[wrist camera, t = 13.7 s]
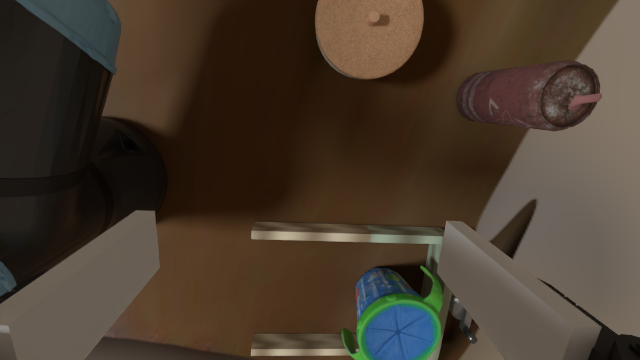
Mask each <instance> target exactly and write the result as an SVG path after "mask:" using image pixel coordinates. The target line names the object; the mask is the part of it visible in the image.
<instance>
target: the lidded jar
mask: <svg viewBox="0 0 640 360" xmlns="http://www.w3.org/2000/svg"><path fill="white" fill-rule="evenodd" d="M423 23H424V9H423V3H422V0H318V3H317V8H316V13H315V30H316V38H317V42H318V46H319V48H320V50H321V53H322V55H323V56H324V58H325V60H326V61H327V62H328V63H329V64H330V66H332V67H333V68H334V69H335V70H336V71H338V72H339V73H341V74H343V75H345V76H348V77H351V78H355V79H376V78H380V77H384V76H386V75H388V74H391V73H393V72H394V71H396V70H397V69H399V68H400V67H401V66H402V65H403V64H404V63H406V62H407V60H408V59H409V58H410V57H411V55H412V54H413V52H414V51H415V49H416V47H417V45H418V43H419V40H420V38H421V34H422V30H423Z"/></svg>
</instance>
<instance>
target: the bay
mask: <svg viewBox="0 0 640 360" xmlns="http://www.w3.org/2000/svg"><path fill="white" fill-rule="evenodd" d="M443 237H444V230H443V229H442V228H440V227H413V226H382V225H350V224H319V223H288V222H257V221H255V222H254V225H253V228H252V231H251V239H270V240H307V241H344V242H381V243H418V244H429V249H428V255H427V260H426V266H425V268H426V269H427V270H428V271H429V272H430V273H431V274H432V275H433V276H434V277H435V278H436V279H437V280H438V282H439V283H440V285H441V288H442V293H443V301H442V303H443V305H442V307H441V310H440V312H439V320H440V323H441V337H440V340H439V343H438V345H437V347H436V349H435V350H434V352H433V353H432V354H431V355H430V356H429V357H428V358H427V359H426V360H438V356H439V352H440V347H441V342H442V338H443V333H444V328H445V323H446V319H447V314H448V309H449V305H450V300H451V295H452V292H451V290H450V289H449V288H448V287H447V285H446V284H445V283H444V281H443V280H442V279H441V278H440V276H439V275H438V274H437V268H438V262H439V257H440V252H441V247H442V242H443ZM432 286H433V281H432V279H431V278H430V277H428V276H427V275H426V274H425V273H424V277H423V283H422V288H421V294H420V296H421V297H422V298H425V297H428V296H429V295H430V293H431V290H432ZM352 335H353V337H354V346H355V349H356V353H357V352H358V351H359V345H358V341H357V334H352ZM304 355H350V354H349V353H348V352H347V350H346V349H345V346H344V343H343V340H342V334H254V336H253V342H252V347H251V356H304Z"/></svg>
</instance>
